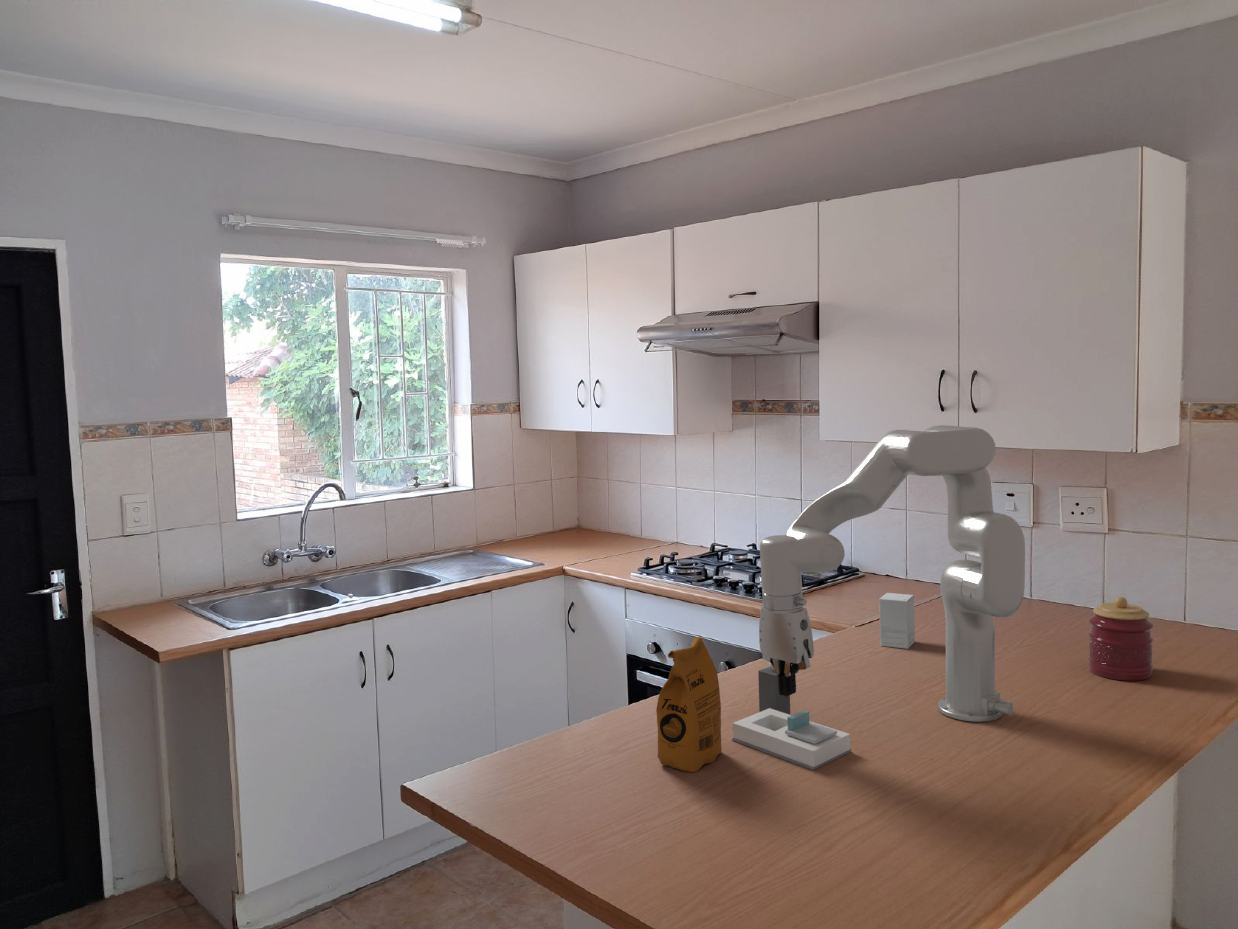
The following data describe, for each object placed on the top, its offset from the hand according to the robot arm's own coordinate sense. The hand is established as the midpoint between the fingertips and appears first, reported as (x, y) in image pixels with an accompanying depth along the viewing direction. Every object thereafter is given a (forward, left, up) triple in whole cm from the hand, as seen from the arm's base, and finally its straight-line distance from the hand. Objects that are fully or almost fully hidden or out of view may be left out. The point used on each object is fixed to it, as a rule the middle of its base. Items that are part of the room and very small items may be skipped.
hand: (787, 693), depth 177 cm
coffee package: (+9, +18, -10) cm, 23 cm away
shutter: (-6, +1, -6) cm, 9 cm away
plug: (+11, -9, -10) cm, 17 cm away
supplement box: (+21, -70, -10) cm, 73 cm away
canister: (-28, -84, -10) cm, 89 cm away
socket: (-1, +1, -10) cm, 10 cm away
